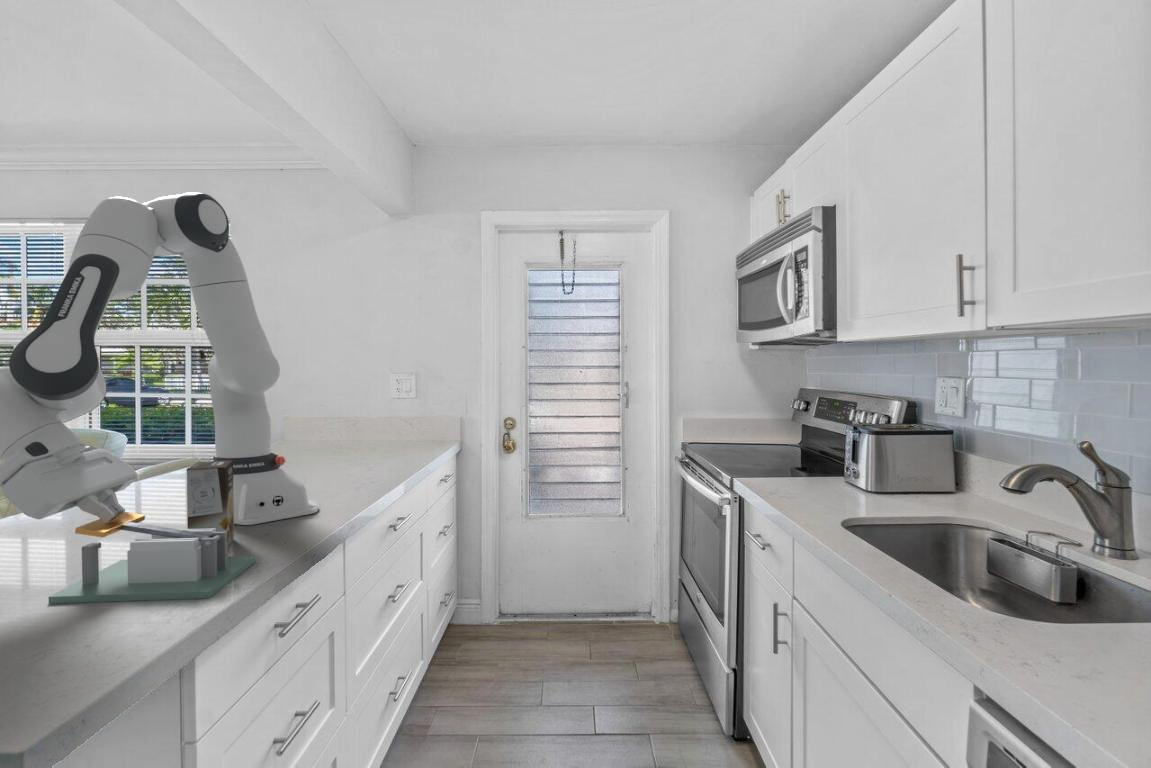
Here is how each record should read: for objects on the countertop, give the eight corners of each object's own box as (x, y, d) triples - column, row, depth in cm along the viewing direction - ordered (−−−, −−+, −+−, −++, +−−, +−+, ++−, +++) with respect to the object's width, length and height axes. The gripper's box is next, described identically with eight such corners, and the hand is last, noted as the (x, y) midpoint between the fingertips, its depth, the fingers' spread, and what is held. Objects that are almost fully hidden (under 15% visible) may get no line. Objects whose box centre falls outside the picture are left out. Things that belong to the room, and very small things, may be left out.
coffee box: (227, 553, 108) (226, 466, 107) (186, 557, 105) (185, 469, 105) (234, 539, 116) (233, 459, 116) (197, 542, 114) (195, 461, 113)
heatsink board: (48, 603, 85) (47, 553, 84) (121, 565, 101) (120, 523, 100) (209, 598, 87) (208, 549, 87) (255, 561, 103) (255, 520, 103)
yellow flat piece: (74, 533, 87) (75, 528, 87) (119, 515, 97) (120, 511, 97) (191, 551, 89) (192, 546, 89) (223, 532, 99) (224, 527, 99)
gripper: (81, 457, 101) (141, 512, 103) (-26, 483, 81) (51, 552, 83) (109, 432, 102) (168, 488, 103) (9, 452, 81) (85, 521, 83)
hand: (116, 517), depth 93 cm, fingers closed, pressing on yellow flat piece
